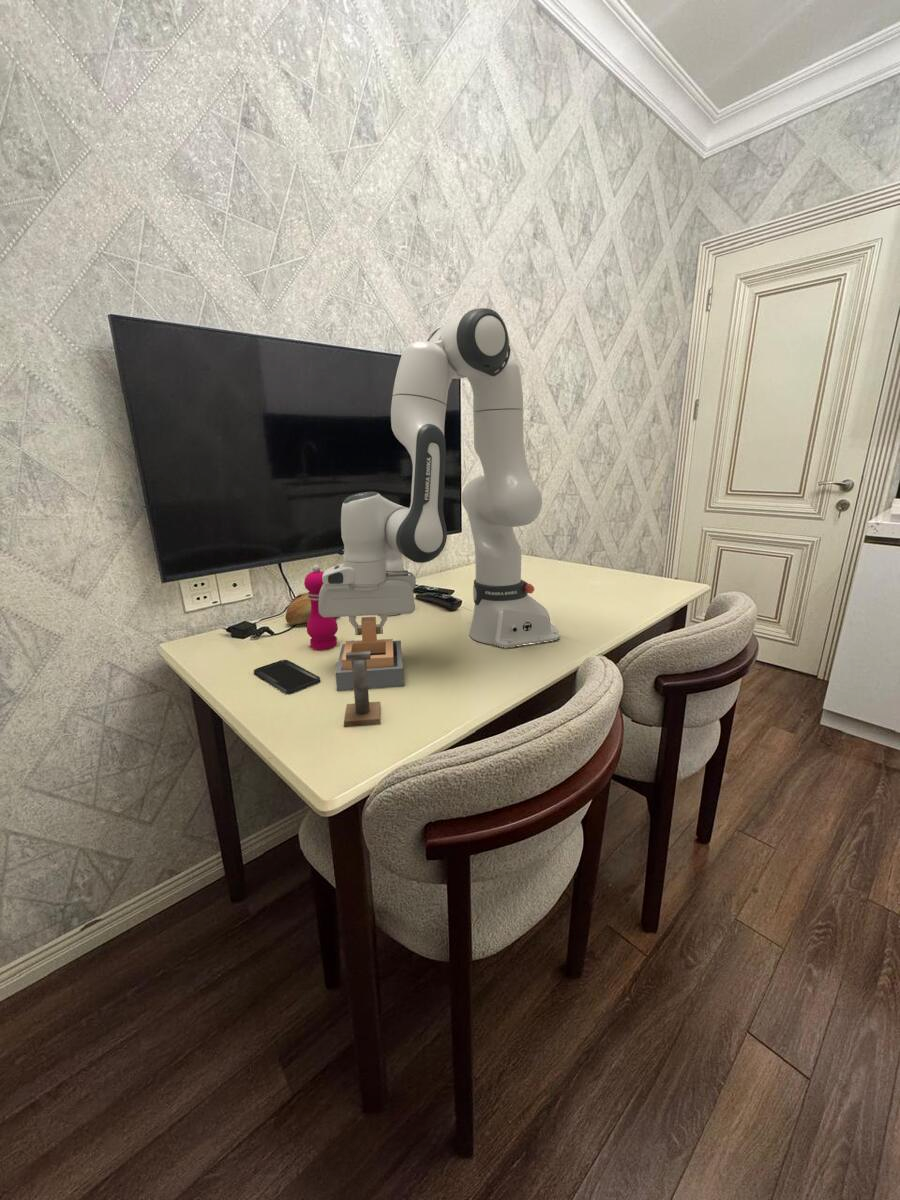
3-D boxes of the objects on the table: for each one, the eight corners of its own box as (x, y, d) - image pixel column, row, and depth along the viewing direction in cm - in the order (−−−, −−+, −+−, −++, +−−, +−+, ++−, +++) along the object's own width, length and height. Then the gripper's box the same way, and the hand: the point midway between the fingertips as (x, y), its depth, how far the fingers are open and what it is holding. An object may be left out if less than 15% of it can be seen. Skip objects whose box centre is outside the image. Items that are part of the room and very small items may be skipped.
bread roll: (281, 621, 133) (277, 594, 131) (332, 611, 141) (329, 585, 139) (292, 631, 126) (288, 602, 123) (345, 620, 134) (342, 592, 132)
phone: (285, 658, 107) (322, 678, 97) (286, 663, 107) (322, 683, 97) (251, 670, 101) (286, 692, 91) (251, 675, 101) (287, 697, 92)
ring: (392, 645, 106) (391, 616, 104) (393, 668, 95) (392, 635, 93) (347, 648, 105) (345, 618, 103) (342, 671, 94) (340, 638, 92)
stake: (380, 706, 87) (376, 645, 83) (380, 723, 81) (375, 659, 78) (347, 708, 86) (341, 647, 83) (344, 726, 81) (338, 661, 77)
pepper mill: (331, 652, 112) (323, 568, 106) (303, 650, 113) (293, 568, 107) (344, 640, 118) (337, 562, 113) (317, 639, 120) (309, 561, 114)
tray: (401, 655, 109) (400, 640, 108) (403, 685, 95) (402, 668, 94) (343, 659, 107) (342, 644, 106) (337, 690, 93) (335, 672, 92)
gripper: (414, 566, 104) (416, 626, 108) (318, 570, 101) (323, 631, 105) (416, 573, 98) (417, 636, 102) (314, 577, 95) (320, 641, 99)
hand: (369, 633), depth 104 cm, fingers closed on ring, 3 cm apart
